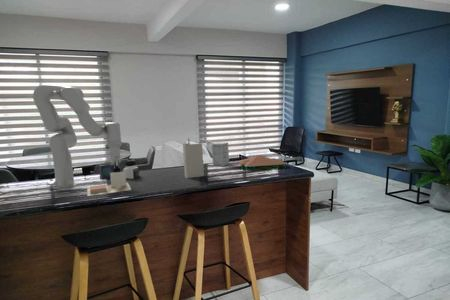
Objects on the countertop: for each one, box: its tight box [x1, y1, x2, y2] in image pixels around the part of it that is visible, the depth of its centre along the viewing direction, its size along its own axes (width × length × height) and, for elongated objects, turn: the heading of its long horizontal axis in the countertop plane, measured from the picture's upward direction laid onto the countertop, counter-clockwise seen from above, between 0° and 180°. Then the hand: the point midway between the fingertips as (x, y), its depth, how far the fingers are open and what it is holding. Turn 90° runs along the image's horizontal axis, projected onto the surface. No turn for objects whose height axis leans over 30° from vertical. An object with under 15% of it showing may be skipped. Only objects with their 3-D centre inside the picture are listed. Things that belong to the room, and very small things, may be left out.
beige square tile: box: [109, 170, 127, 187], centre depth 172 cm, size 8×2×8 cm, turn 114°
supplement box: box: [211, 141, 230, 167], centre depth 228 cm, size 10×9×17 cm
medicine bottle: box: [122, 159, 140, 180], centre depth 193 cm, size 7×7×12 cm
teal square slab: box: [89, 184, 107, 194], centre depth 164 cm, size 8×2×8 cm
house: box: [237, 155, 288, 171], centre depth 218 cm, size 23×33×8 cm
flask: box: [98, 161, 114, 180], centre depth 197 cm, size 9×3×11 cm, turn 110°
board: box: [86, 182, 132, 197], centre depth 167 cm, size 22×18×1 cm
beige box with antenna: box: [182, 137, 205, 179], centre depth 194 cm, size 8×12×26 cm
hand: (117, 174), depth 176 cm, fingers closed
